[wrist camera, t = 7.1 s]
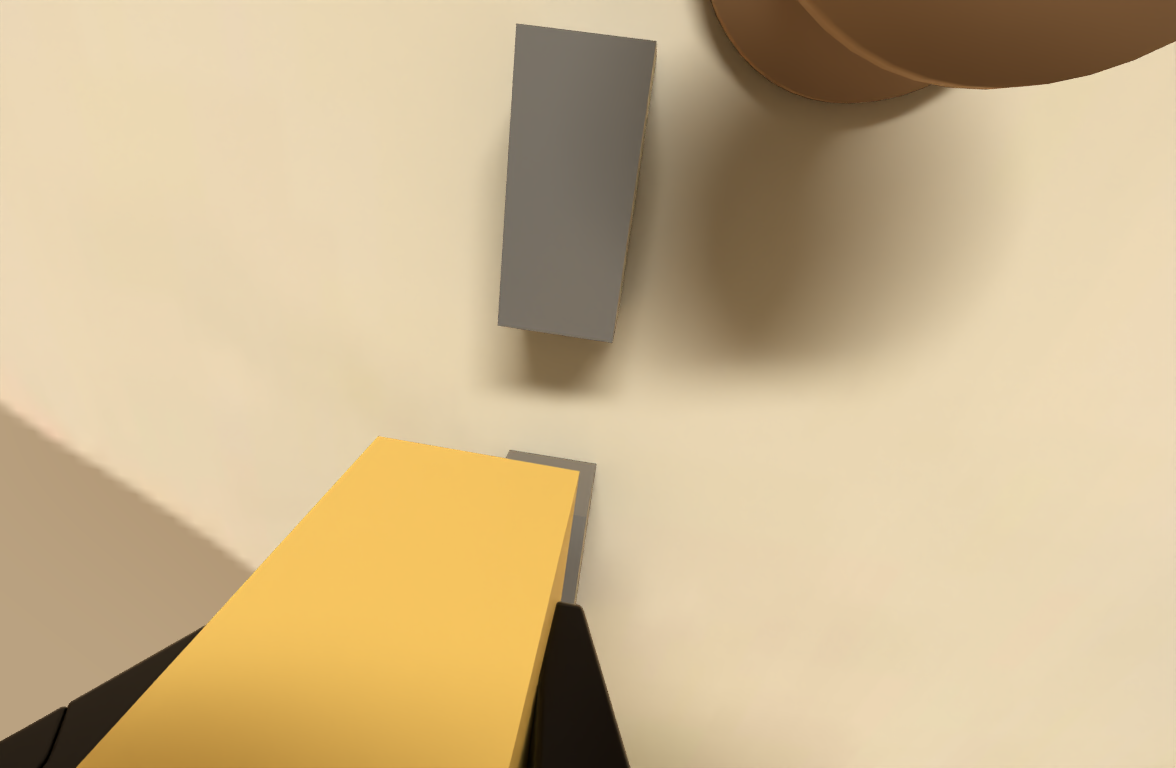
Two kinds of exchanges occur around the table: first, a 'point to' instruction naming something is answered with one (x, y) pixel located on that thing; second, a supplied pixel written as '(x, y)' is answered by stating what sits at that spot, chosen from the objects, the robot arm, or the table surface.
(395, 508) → the tab block
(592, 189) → the grey square bar
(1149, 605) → the table surface
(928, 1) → the bobbin
